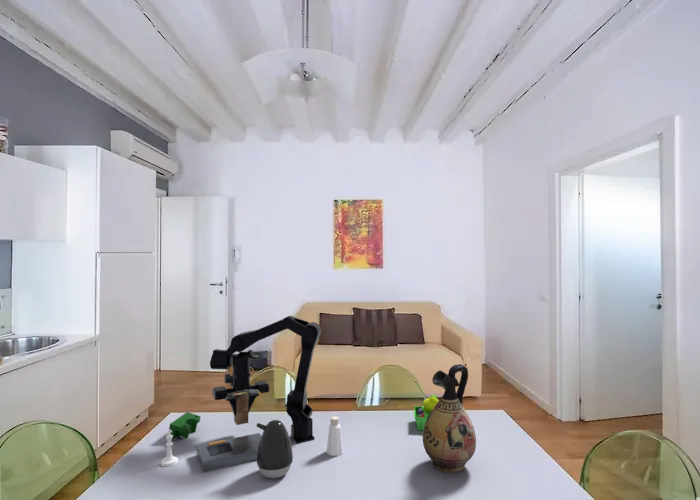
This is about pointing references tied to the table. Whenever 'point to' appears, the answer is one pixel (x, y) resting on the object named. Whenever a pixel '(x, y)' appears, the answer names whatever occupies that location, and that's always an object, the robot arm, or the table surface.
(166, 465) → the chess piece
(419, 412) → the fruit basket
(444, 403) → the ceramic jug
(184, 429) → the clamp
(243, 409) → the walnut peg
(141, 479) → the table surface
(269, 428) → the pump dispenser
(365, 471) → the table surface
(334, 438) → the pepper shaker
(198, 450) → the grey peg hole board
